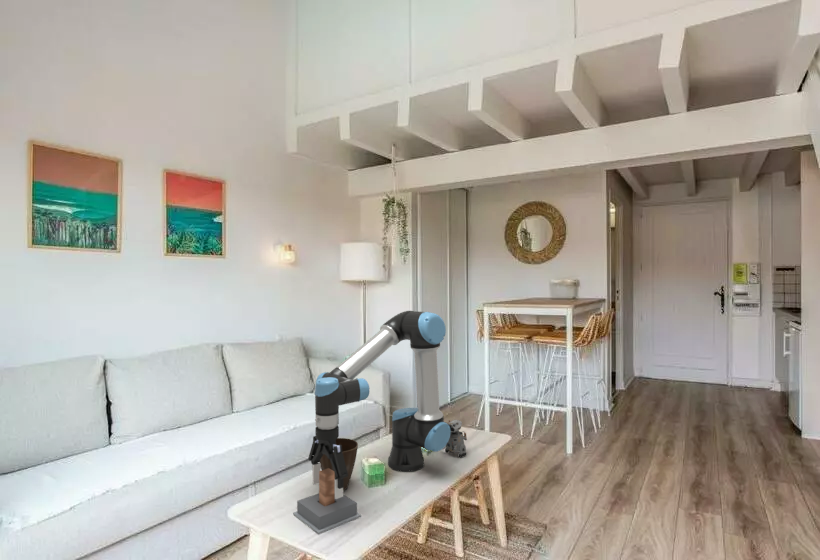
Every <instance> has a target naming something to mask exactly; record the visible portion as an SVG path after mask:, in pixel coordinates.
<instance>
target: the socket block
mask: <svg viewBox="0 0 820 560" xmlns="http://www.w3.org/2000/svg"><path fill="white" fill-rule="evenodd" d="M296 503H297V504H296V506H297V507H296V509H297V510H296V511H294V512H292V516H294V517H296V519H298V520H299V521H300V522H302V523H303V524H304V525H305V526H307V527H308V528H310V529H311V530H312V531H313V532H315V533H316V534H317V535H320V534H323V533H326V532H328V531H330V530H332V529H335V528H337V527H340V526H342V525H344V524H348V523H350V522H352V521H354V520H356V518H357V519H359V518H361V517H362V514H360V513H359V512H358V503H357V501H355V500H353V499H352V498H350V497H348V496H347V495H345V494H344V493H343V497H341V498H338V499H335V503H333V504H330V505H327V506H323V505H322V504H320V503H319V492H317V493H316V494H313V495H309V496H307V497H304V498H301V499H299V500H297V501H296Z"/></svg>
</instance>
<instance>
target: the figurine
mask: <svg viewBox="0 0 820 560" xmlns="http://www.w3.org/2000/svg"><path fill="white" fill-rule="evenodd" d="M446 423H447V422H446ZM447 424H448V425H449V427H450V431H451V433H450V438H449V441H448V442H447V444H446V448H444V452H445V453H447V454H448V453H450V452H452V453H458V458H460V459H462V458H463V457H466V456H467V455H468V453H467V447H466V445H465V441H467V440H468V439H467V432H465V431H460V430H461V429H462V424H463V422H462V421H461V419H460V420H459V419H452V420H448V423H447Z"/></svg>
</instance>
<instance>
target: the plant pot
mask: <svg viewBox="0 0 820 560" xmlns="http://www.w3.org/2000/svg"><path fill="white" fill-rule="evenodd" d="M336 445H342V453H343V457H344V461H345V465H346V469H347V473H348V477H345V478H344V484H343V485H344V486H343V492H344V491H345V490H346V489H348V488H349V487H348V486H349V484H350V481H351V479H352V475H353V473H354V469H355V464H356V460H357V453H358V446H359V444H358V442H357V441H356V440H354V439H351V438H344V437H338V438H337V439H336ZM333 454H334V453H333ZM333 454H332V455H333ZM320 461H321V462H319V463H321V471H322V470H325V469H328V468H329V469H331V470H333V467H332V464H331V462H330V459H328V458H327V456H326V455H325V454H323V456H322V458H321V459H320ZM333 471H334V470H333ZM335 478H336V475H335Z"/></svg>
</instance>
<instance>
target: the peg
mask: <svg viewBox="0 0 820 560" xmlns="http://www.w3.org/2000/svg"><path fill="white" fill-rule="evenodd" d="M318 486H319V487H318V493H319V503H320V504H322V505H323V506H327V505H330V504H333V503H335V472H334V471H333V470H331V469H329V468H328V469H325V470H322V471H319V483H318Z"/></svg>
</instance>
